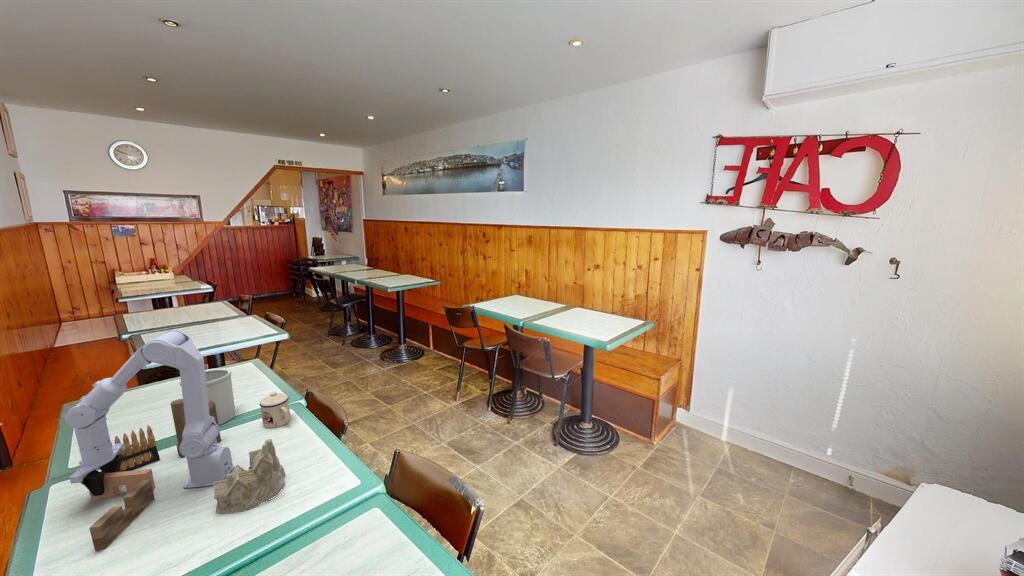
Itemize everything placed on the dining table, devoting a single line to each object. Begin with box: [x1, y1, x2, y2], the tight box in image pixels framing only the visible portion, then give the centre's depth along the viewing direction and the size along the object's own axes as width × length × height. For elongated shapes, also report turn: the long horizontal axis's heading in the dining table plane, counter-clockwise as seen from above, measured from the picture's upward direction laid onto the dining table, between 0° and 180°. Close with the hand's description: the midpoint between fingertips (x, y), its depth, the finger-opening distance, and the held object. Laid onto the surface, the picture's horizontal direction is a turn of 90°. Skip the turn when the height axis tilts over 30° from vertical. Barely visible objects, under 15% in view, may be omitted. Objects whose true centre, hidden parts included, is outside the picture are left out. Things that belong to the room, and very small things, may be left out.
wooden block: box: [170, 398, 222, 458], centre depth 126 cm, size 4×11×18 cm, turn 146°
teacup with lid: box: [259, 391, 291, 429], centre depth 141 cm, size 12×9×12 cm
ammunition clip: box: [111, 424, 161, 472], centre depth 117 cm, size 11×2×12 cm, turn 143°
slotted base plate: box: [89, 479, 156, 551], centre depth 97 cm, size 16×2×6 cm, turn 10°
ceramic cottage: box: [213, 438, 286, 515], centre depth 107 cm, size 16×16×15 cm
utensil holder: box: [179, 367, 236, 426], centre depth 144 cm, size 15×15×18 cm
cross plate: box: [88, 468, 156, 500], centre depth 107 cm, size 14×2×6 cm, turn 100°
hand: (105, 489), depth 106 cm, fingers open, 4 cm apart
